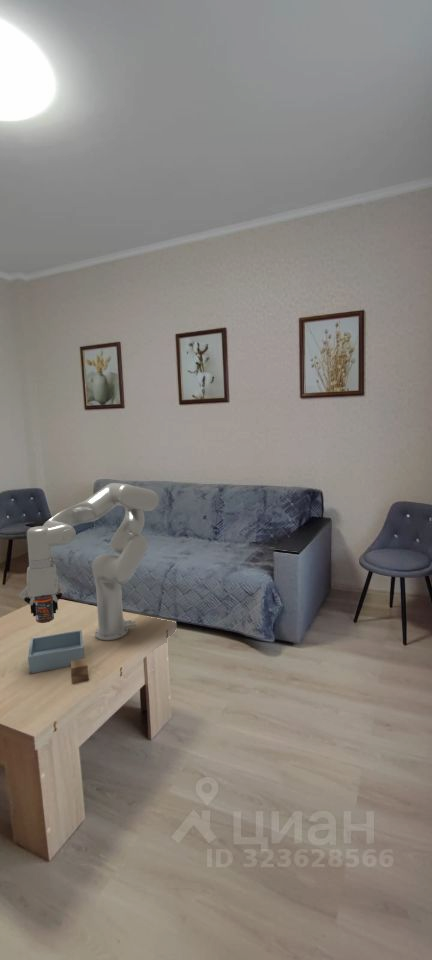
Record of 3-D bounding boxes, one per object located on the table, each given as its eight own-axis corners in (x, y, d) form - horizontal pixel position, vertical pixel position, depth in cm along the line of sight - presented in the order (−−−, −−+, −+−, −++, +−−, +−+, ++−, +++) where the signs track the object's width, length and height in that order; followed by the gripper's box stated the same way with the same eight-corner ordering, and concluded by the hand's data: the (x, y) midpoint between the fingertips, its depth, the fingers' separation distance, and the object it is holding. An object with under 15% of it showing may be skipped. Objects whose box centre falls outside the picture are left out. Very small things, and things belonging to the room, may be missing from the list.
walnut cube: (87, 672, 151) (86, 658, 150) (88, 680, 146) (87, 665, 146) (71, 675, 149) (70, 660, 149) (72, 683, 145) (71, 668, 144)
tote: (82, 644, 170) (81, 630, 170) (84, 663, 157) (83, 647, 156) (32, 653, 165) (30, 638, 164) (29, 673, 151) (28, 657, 150)
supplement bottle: (36, 625, 154) (33, 592, 153) (35, 618, 160) (33, 587, 158) (55, 621, 156) (52, 589, 155) (53, 615, 162) (51, 584, 161)
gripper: (67, 557, 162) (70, 605, 164) (14, 562, 157) (18, 613, 159) (67, 562, 155) (71, 613, 157) (12, 569, 150) (16, 621, 152)
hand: (44, 613), depth 158 cm, fingers closed on supplement bottle, 6 cm apart
